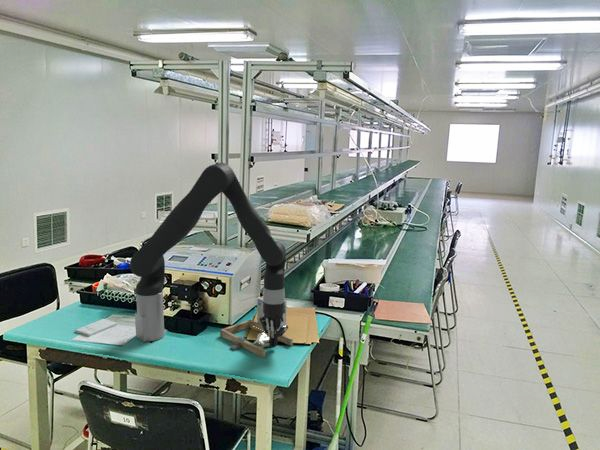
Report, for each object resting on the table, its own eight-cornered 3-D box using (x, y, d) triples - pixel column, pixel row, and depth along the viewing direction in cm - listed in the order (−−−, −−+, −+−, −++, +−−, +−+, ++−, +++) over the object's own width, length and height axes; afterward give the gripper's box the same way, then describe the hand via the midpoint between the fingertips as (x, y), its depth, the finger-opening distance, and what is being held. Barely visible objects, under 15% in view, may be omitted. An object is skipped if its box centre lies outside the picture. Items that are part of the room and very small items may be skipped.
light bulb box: (286, 326, 184) (287, 300, 182) (274, 331, 180) (274, 304, 178) (269, 318, 192) (269, 293, 190) (256, 323, 187) (256, 297, 185)
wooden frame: (262, 357, 158) (262, 350, 157) (220, 335, 174) (220, 329, 174) (292, 345, 168) (292, 338, 167) (250, 325, 184) (250, 319, 184)
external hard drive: (117, 326, 183) (89, 338, 172) (103, 322, 187) (75, 333, 176) (117, 322, 182) (89, 333, 172) (103, 318, 186) (74, 329, 176)
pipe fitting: (275, 343, 170) (257, 341, 171) (276, 333, 169) (258, 331, 170) (271, 353, 162) (252, 351, 163) (272, 343, 162) (253, 340, 162)
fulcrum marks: (234, 350, 163) (234, 343, 162) (229, 348, 165) (229, 340, 164) (280, 333, 178) (280, 326, 177) (274, 330, 180) (274, 324, 179)
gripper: (253, 297, 163) (252, 343, 166) (278, 307, 154) (278, 356, 157) (269, 292, 168) (268, 337, 171) (295, 302, 159) (293, 349, 162)
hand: (273, 346), depth 164 cm, fingers closed
